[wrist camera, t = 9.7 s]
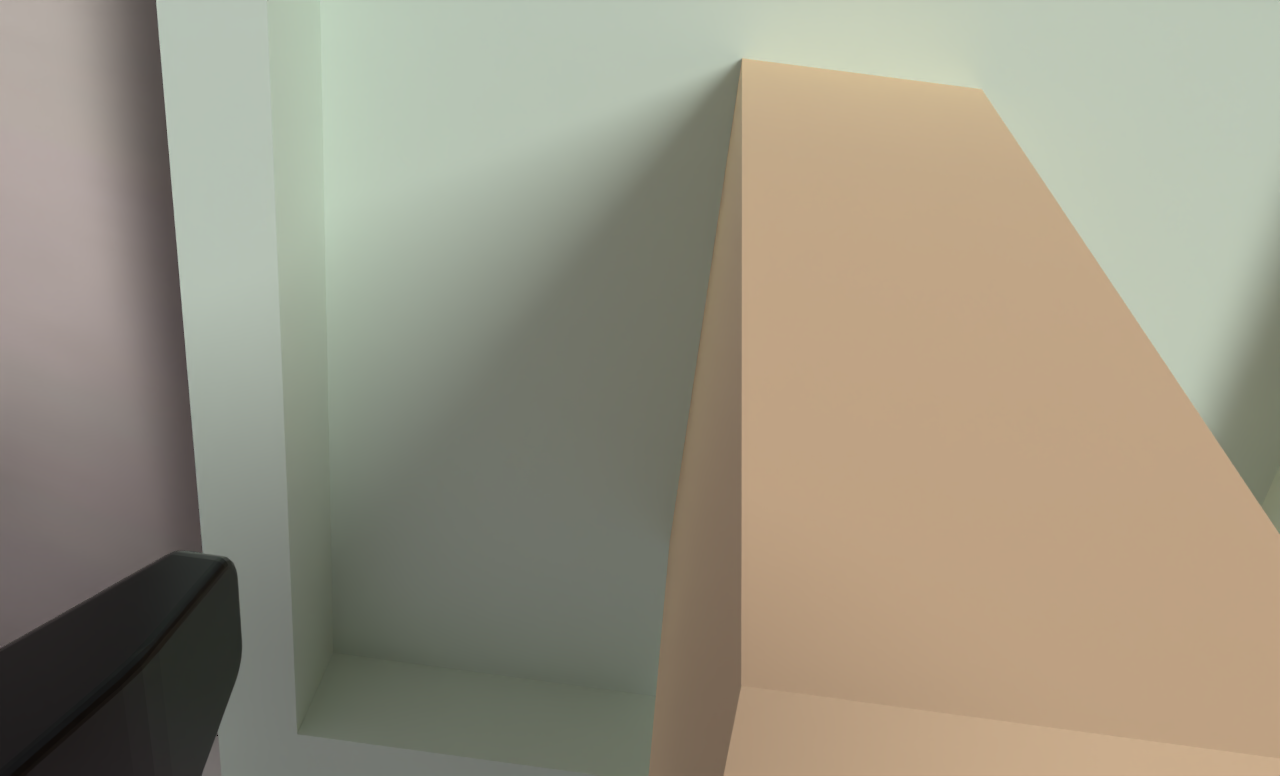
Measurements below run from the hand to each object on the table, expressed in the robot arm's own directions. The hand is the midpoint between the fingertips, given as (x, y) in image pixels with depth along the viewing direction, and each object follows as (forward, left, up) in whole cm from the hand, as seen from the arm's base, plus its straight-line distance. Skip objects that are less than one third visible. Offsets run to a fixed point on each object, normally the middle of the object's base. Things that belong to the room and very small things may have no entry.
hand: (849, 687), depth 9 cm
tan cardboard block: (0, 0, -6) cm, 6 cm away
